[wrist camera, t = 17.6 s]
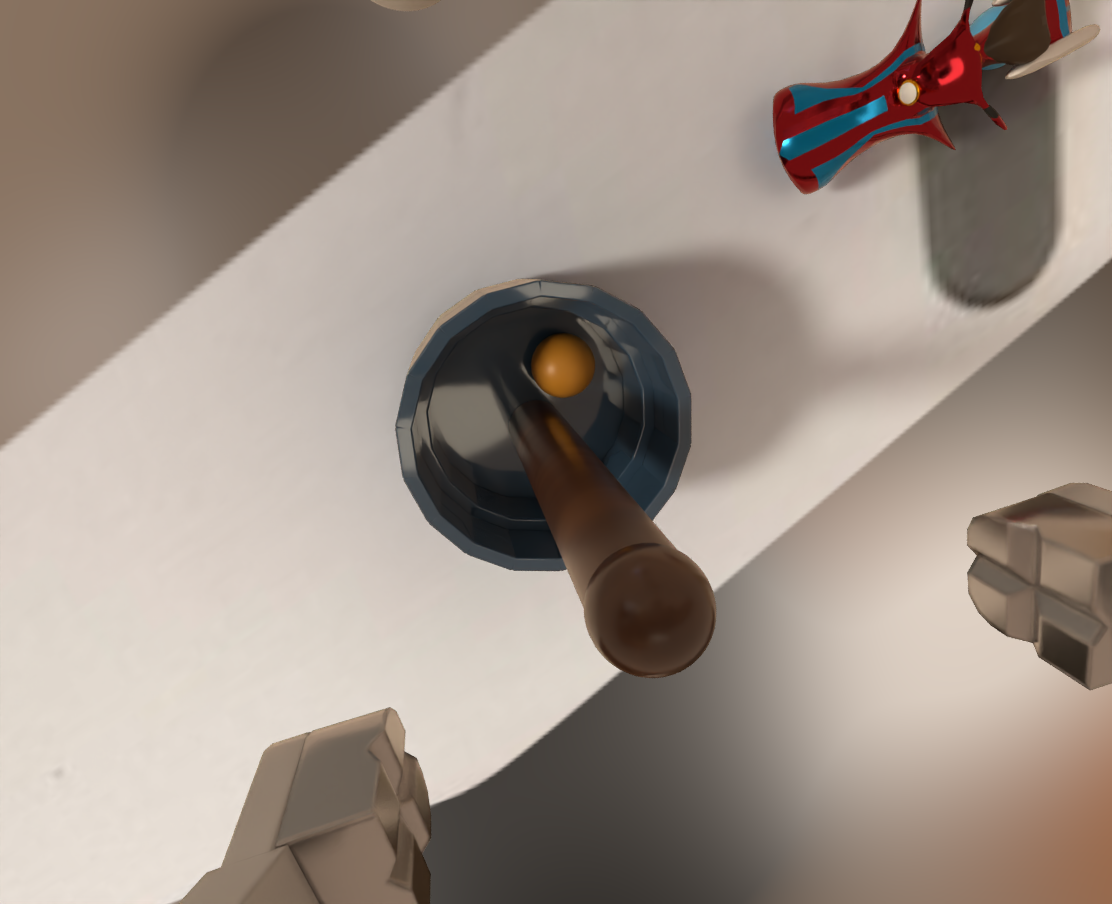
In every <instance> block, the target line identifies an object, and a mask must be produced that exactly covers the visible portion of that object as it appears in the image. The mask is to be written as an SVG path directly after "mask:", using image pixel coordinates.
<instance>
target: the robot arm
mask: <svg viewBox="0 0 1112 904" xmlns="http://www.w3.org/2000/svg"><path fill="white" fill-rule="evenodd" d="M967 546H968V547H969V548H970V549H971V550H972V551H973V552H974V553H975V554H976V555H977V556H976V558H975V560H974V562H973V563H972V565H971V567H970V569H969V571H968V572H967V575H968V592H969V595H970V597H971V599H972V601H973V603H974V605H975V607H976V609H977V611H978V612H979V614H980V615H981V616H982V617H983V618H984V619H985V620H986V621H987V622H988V623H989V624H990V625H991V626H992V627H994V628H996V629H997V630H998V631H1000V632H1001V633H1003V634H1004V635H1006V636H1008V637H1011V638H1015V639H1019V640H1023V641H1028V642H1031V643H1033V644H1034V647H1035V649H1036V652H1037V654H1038V657H1039V658H1041V659H1042V660H1044V661H1045V662H1047V663H1049V664H1050V665H1052V666H1053V667H1055V668H1056V669H1058V670H1060V671H1061V672H1063V673H1064V674H1066V675H1067V676H1069V677H1070V678H1072V679H1073V680H1075V681H1076V682H1078V683H1079V684H1081V685H1082V686H1084V687H1086V688H1087V689H1089V690H1093V689H1096V688H1099V687H1102V686H1105V685H1108V684H1111V683H1112V491H1110V490H1107V489H1103V488H1101V487H1098V486H1095V485H1092V484H1088V483H1069V484H1067V485H1064V486H1061V487H1058V488H1055V489H1052V490H1050V491H1047V492H1044V493H1042V494H1039V495H1037V496H1036V497H1034V498H1031V499H1028V500H1025V501H1022V502H1019V503H1016V504H1013V505H1010V506H1007V507H1004V508H1000V509H997V510H995V511H991V512H988V513H985V514H982V515H979V516H976V517H973V518H972V521H971V523H970V525H969V527H968V529H967ZM404 747H405V729H404V727H403V725H402V722H401V720H400V718H399V716H398V714H397V711H395V710H394V709H392V708H391V707H389V708H386V709H382V710H379V711H376V712H373V713H369V714H366V715H363V716H359V717H356V718H353V719H349V720H346V721H343V722H339V723H336V724H333V725H330V726H326V727H323V728H320V729H316V730H313V731H312V732H308V733H304V734H301V735H298V736H295V737H292V738H288V739H285V740H282V741H279V742H276V743H273V744H271V745H270V746H269V747H268V748H267V749H266V750H265V751H264V752H263V754H262V757H261V759H260V762H259V765H258V768H257V770H256V773H255V776H254V779H253V781H252V784H251V787H250V789H249V792H248V795H247V798H246V800H245V803H244V806H243V808H242V811H241V814H240V817H239V819H238V822H237V825H236V828H235V830H234V833H233V836H232V838H231V841H230V844H229V847H228V849H227V852H226V855H225V857H224V860H223V863H222V866H221V868H218V869H215V870H213V871H210V872H207V873H206V874H205V875H204V876H203V877H202V878H201V879H200V880H199V882H198V883H197V884H196V885H195V886H194V887H193V888H192V889H191V890H190V891H189V893H188V894H187V895H186V896H185V897H184V898H183V899H182V900H181V901H180V903H179V904H430V876H431V874H430V871H429V869H428V867H427V864H426V862H425V860H424V857H423V855H422V853H423V851H424V849H425V848H426V846H427V844H428V843H429V841H430V839H431V813H430V805H429V798H428V791H427V787H426V784H425V780H424V776H423V773H422V770H421V768H420V765H419V763H418V760H417V758H416V757H414V756H412V755H410V754H408V753H406V752H405V751H404Z"/></svg>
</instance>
